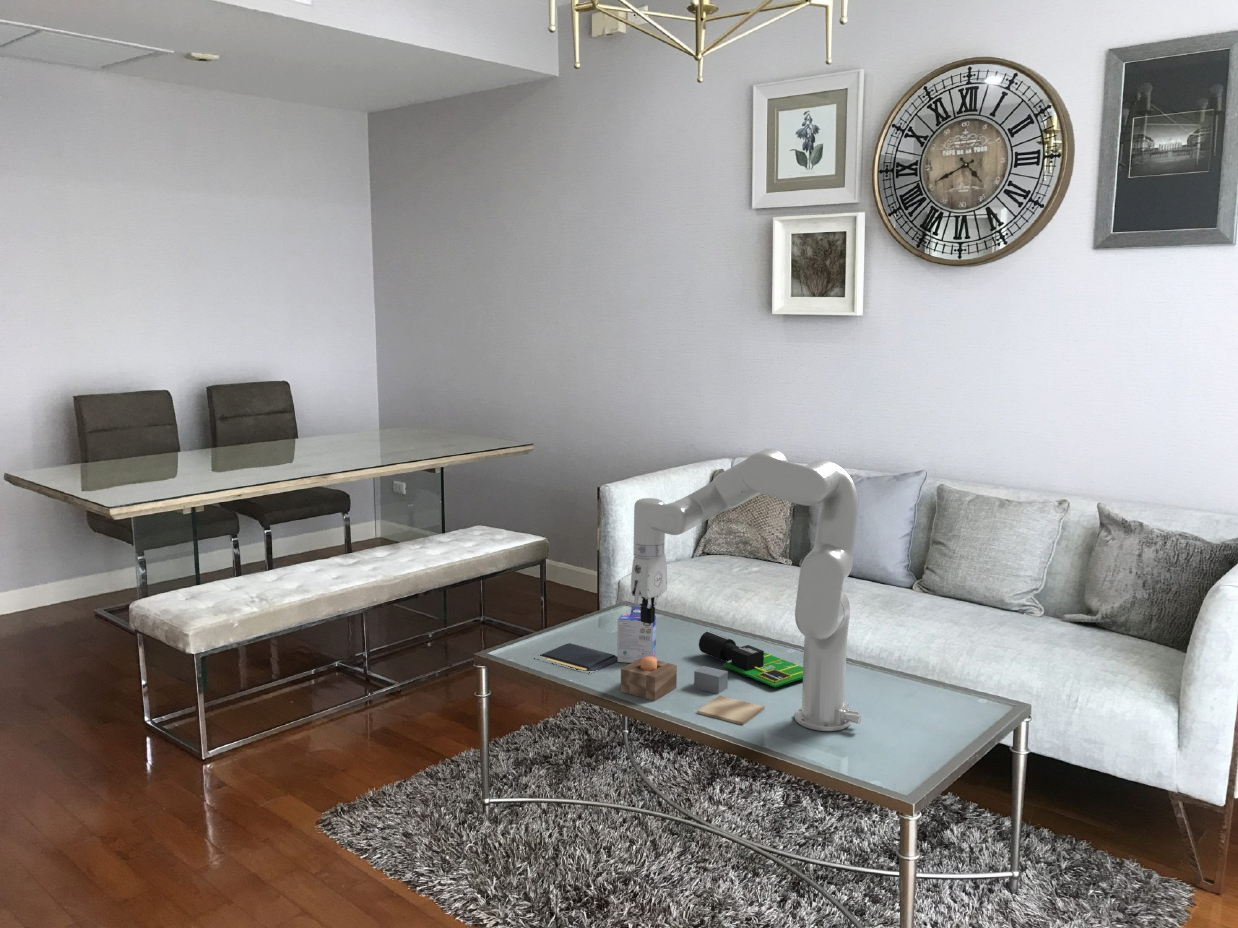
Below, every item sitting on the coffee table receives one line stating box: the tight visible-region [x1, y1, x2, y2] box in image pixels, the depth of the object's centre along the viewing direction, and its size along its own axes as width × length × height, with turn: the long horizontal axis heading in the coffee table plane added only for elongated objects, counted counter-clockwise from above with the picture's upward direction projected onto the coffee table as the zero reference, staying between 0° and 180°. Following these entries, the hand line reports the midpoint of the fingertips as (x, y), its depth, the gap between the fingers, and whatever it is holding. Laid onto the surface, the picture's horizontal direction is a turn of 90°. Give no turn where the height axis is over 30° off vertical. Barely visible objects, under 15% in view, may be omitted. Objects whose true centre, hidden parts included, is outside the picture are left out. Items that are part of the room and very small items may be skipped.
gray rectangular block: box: [693, 665, 729, 695], centre depth 245 cm, size 7×4×4 cm, turn 55°
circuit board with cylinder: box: [698, 631, 803, 688], centre depth 258 cm, size 30×7×15 cm
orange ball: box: [641, 656, 658, 672], centre depth 243 cm, size 4×4×4 cm
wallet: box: [539, 642, 618, 673], centre depth 266 cm, size 20×2×15 cm
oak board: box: [696, 695, 765, 726], centre depth 231 cm, size 12×11×1 cm
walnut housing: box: [620, 659, 678, 702], centre depth 243 cm, size 10×10×6 cm
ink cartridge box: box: [616, 606, 657, 664], centre depth 263 cm, size 10×6×14 cm, turn 79°
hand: (647, 621), depth 241 cm, fingers closed
